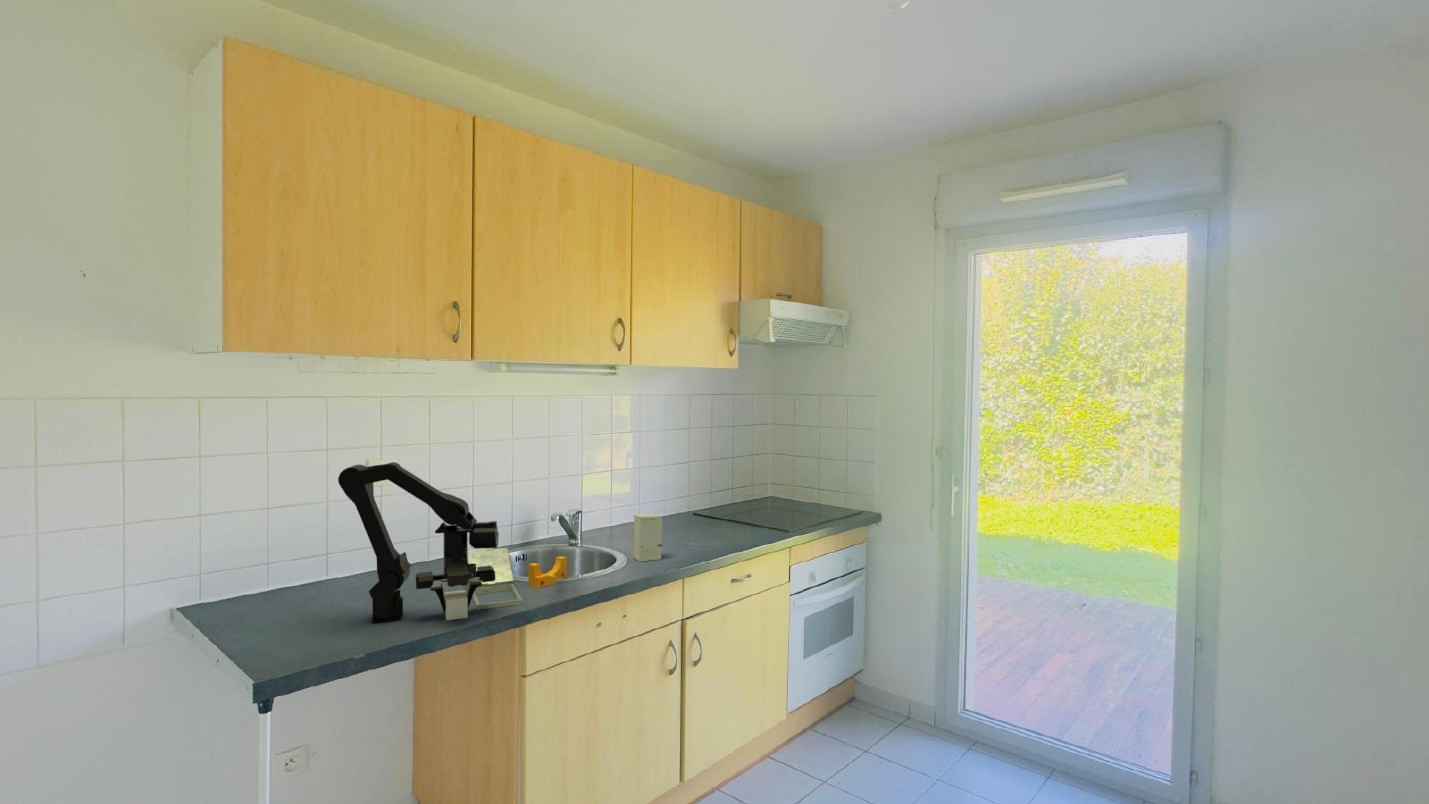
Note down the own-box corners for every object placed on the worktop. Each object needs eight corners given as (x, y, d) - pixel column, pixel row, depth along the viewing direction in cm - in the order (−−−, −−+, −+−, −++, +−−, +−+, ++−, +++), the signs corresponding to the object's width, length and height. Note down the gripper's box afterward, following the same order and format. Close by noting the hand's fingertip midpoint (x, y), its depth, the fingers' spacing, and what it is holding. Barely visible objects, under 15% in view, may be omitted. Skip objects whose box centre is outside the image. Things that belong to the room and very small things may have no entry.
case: (477, 609, 183) (476, 575, 183) (467, 581, 208) (467, 551, 208) (521, 604, 188) (521, 570, 188) (507, 577, 213) (507, 547, 212)
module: (446, 620, 175) (446, 599, 175) (444, 611, 182) (444, 591, 181) (467, 617, 177) (467, 597, 177) (464, 609, 184) (464, 589, 183)
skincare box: (639, 562, 232) (639, 517, 231) (632, 558, 237) (632, 514, 237) (662, 559, 236) (663, 515, 235) (655, 555, 241) (655, 512, 241)
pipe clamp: (538, 589, 202) (538, 566, 202) (528, 586, 205) (528, 564, 205) (570, 579, 212) (570, 558, 211) (561, 577, 214) (561, 556, 214)
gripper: (416, 560, 168) (417, 625, 168) (498, 553, 175) (498, 615, 176) (415, 550, 178) (415, 611, 178) (492, 543, 186) (492, 602, 186)
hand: (455, 610), depth 179 cm, fingers closed on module, 5 cm apart
